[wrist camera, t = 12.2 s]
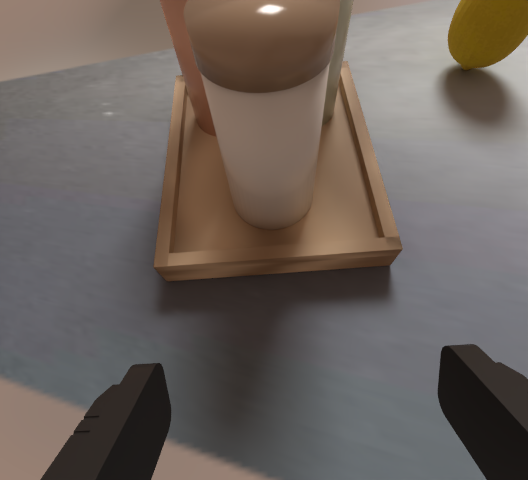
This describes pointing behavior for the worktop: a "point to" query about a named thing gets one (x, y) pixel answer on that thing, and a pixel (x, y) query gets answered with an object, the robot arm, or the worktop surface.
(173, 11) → the terracotta jar
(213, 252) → the tray
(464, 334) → the worktop surface
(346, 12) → the sage jar
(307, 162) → the white jar
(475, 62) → the lemon
